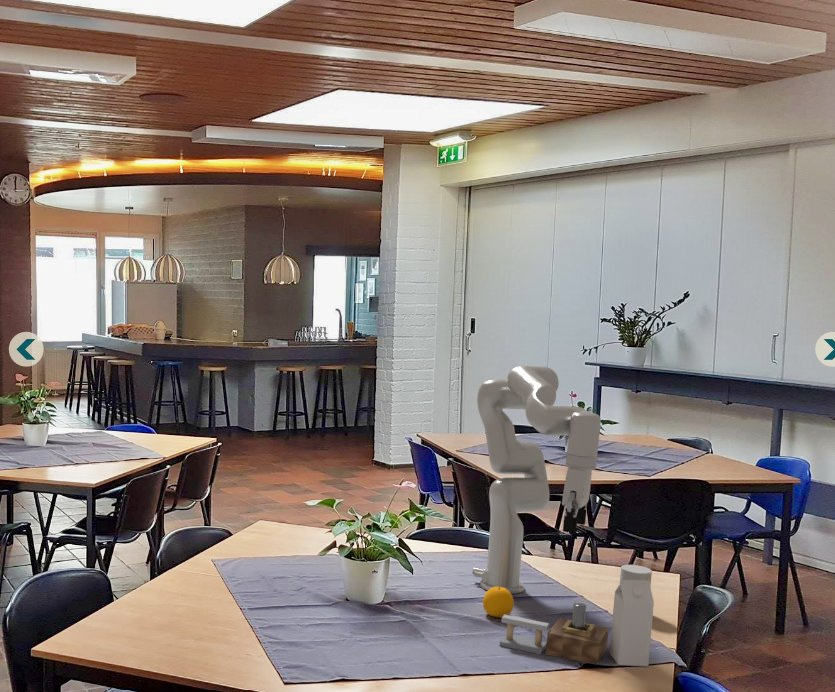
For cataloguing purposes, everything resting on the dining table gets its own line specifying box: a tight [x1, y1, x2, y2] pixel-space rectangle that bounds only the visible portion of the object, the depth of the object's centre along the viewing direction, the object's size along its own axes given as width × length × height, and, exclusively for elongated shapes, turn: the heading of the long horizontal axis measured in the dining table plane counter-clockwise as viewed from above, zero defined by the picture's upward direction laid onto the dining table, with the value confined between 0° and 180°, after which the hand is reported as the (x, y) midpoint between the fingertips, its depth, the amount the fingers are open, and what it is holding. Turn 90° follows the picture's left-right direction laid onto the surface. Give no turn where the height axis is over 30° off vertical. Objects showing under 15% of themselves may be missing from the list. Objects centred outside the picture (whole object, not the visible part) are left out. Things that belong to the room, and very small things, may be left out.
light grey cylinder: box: [619, 564, 653, 587], centre depth 256 cm, size 8×8×12 cm
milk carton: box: [609, 579, 655, 667], centre depth 220 cm, size 7×7×19 cm
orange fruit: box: [482, 587, 515, 618], centre depth 245 cm, size 8×8×8 cm
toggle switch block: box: [545, 618, 610, 666], centre depth 223 cm, size 12×12×6 cm
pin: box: [571, 602, 587, 631], centre depth 224 cm, size 3×3×10 cm
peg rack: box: [498, 614, 550, 655], centre depth 224 cm, size 11×6×6 cm, turn 68°
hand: (574, 527), depth 238 cm, fingers open, 9 cm apart
